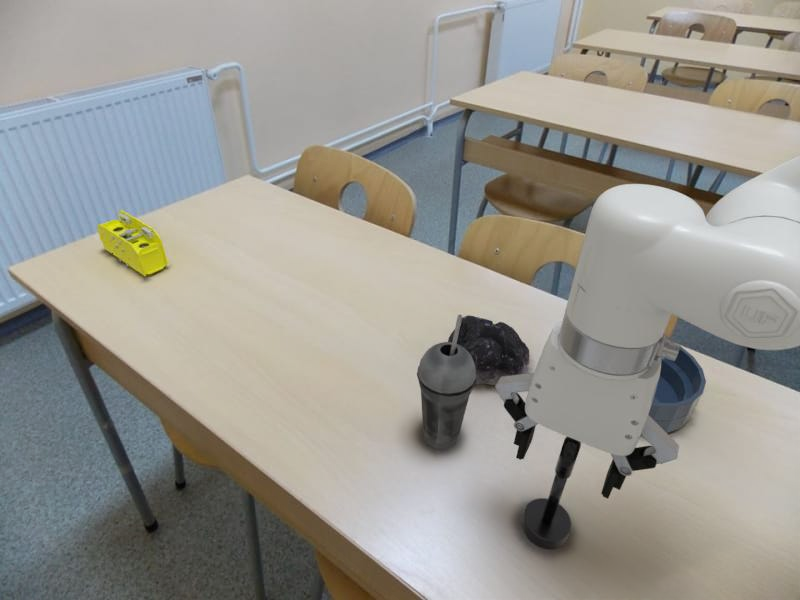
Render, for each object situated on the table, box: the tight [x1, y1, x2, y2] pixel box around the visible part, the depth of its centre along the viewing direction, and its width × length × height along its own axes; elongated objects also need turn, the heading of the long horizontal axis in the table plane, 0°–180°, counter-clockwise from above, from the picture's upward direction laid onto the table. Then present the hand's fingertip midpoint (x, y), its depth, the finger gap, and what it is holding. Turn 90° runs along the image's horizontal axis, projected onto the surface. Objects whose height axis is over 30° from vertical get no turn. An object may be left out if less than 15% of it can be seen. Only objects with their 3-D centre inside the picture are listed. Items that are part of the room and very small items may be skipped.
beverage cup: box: [416, 314, 476, 451], centre depth 64 cm, size 7×7×20 cm
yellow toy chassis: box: [96, 209, 170, 277], centre depth 102 cm, size 16×6×8 cm, turn 51°
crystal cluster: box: [447, 315, 530, 386], centre depth 79 cm, size 13×14×10 cm
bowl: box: [648, 337, 707, 434], centre depth 75 cm, size 16×16×6 cm
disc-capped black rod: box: [521, 436, 582, 550], centre depth 55 cm, size 5×5×16 cm
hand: (564, 466), depth 53 cm, fingers open, 8 cm apart
